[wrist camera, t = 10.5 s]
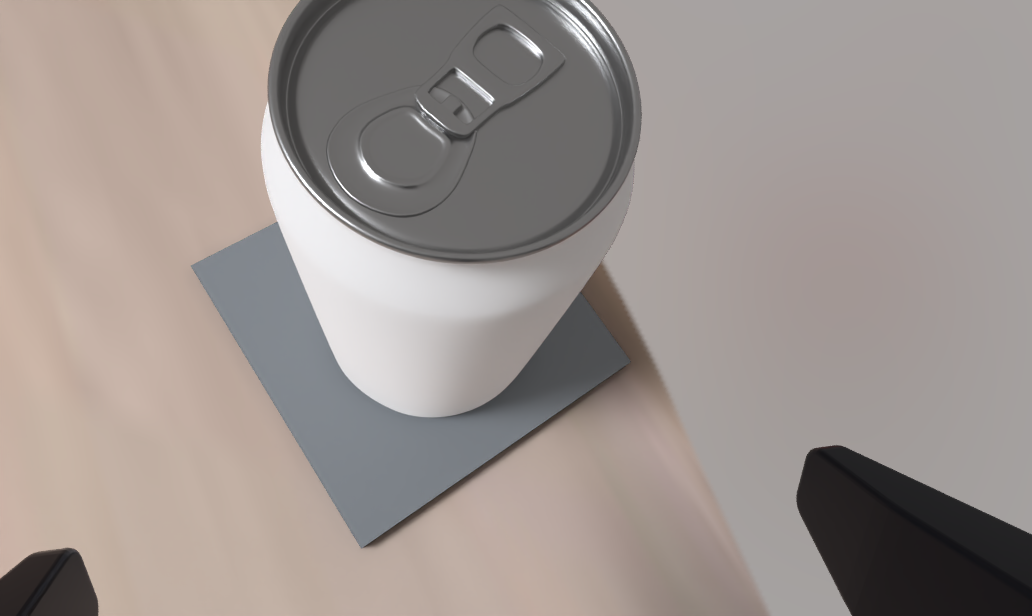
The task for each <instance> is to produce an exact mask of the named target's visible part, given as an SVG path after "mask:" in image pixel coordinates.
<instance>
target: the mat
mask: <svg viewBox="0 0 1032 616" xmlns="http://www.w3.org/2000/svg"><path fill="white" fill-rule="evenodd" d="M191 267H192V269H193V270H194V272H195V274H196V275H197V277H198V279H199V280H200V282H201V284H202V285H203V287H204V289H205V290H206V292H207V293H208V295H209V297H210V298H211V300H212V302H213V303H214V305H215V307H216V308H217V310H218V312H219V313H220V315H221V317H222V318H223V320H224V322H225V323H226V325H227V327H228V328H229V330H230V332H231V333H232V335H233V337H234V338H235V340H236V342H237V343H238V345H239V347H240V348H241V350H242V352H243V353H244V355H245V357H246V358H247V360H248V362H249V363H250V365H251V366H252V368H253V370H254V371H255V373H256V375H257V376H258V378H259V380H260V381H261V383H262V385H263V386H264V388H265V390H266V391H267V393H268V395H269V396H270V398H271V400H272V401H273V403H274V405H275V406H276V408H277V410H278V411H279V413H280V415H281V416H282V418H283V420H284V421H285V423H286V425H287V426H288V428H289V430H290V431H291V433H292V434H293V436H294V438H295V439H296V441H297V443H298V444H299V446H300V448H301V449H302V451H303V453H304V454H305V456H306V458H307V459H308V461H309V463H310V464H311V466H312V468H313V469H314V471H315V473H316V474H317V476H318V478H319V479H320V481H321V483H322V484H323V486H324V488H325V489H326V491H327V493H328V494H329V496H330V498H331V499H332V501H333V503H334V504H335V506H336V507H337V509H338V511H339V512H340V514H341V516H342V517H343V519H344V521H345V522H346V524H347V526H348V527H349V529H350V531H351V532H352V534H353V536H354V537H355V539H356V541H357V542H358V544H359V546H360V547H361V548H363V547H364V546H366V545H367V544H369V543H370V542H371V541H373V540H374V539H376V538H377V537H379V536H380V535H382V534H383V533H384V532H386V531H387V530H389V529H390V528H392V527H393V526H395V525H396V524H398V523H399V522H400V521H402V520H403V519H405V518H406V517H408V516H409V515H411V514H412V513H413V512H415V511H416V510H418V509H419V508H421V507H422V506H424V505H425V504H426V503H428V502H429V501H431V500H432V499H434V498H435V497H437V496H438V495H439V494H441V493H442V492H444V491H445V490H447V489H448V488H450V487H451V486H452V485H454V484H455V483H457V482H458V481H460V480H461V479H463V478H464V477H465V476H467V475H468V474H470V473H471V472H473V471H474V470H476V469H477V468H478V467H480V466H481V465H483V464H484V463H486V462H487V461H489V460H490V459H491V458H493V457H494V456H496V455H497V454H499V453H500V452H502V451H503V450H504V449H506V448H507V447H509V446H510V445H512V444H513V443H515V442H516V441H517V440H519V439H520V438H522V437H523V436H525V435H526V434H528V433H529V432H530V431H532V430H533V429H535V428H536V427H538V426H539V425H541V424H542V423H543V422H545V421H546V420H548V419H549V418H551V417H552V416H554V415H555V414H556V413H558V412H559V411H561V410H562V409H564V408H565V407H567V406H568V405H569V404H571V403H572V402H574V401H575V400H577V399H578V398H580V397H581V396H582V395H584V394H585V393H587V392H588V391H590V390H591V389H593V388H594V387H595V386H597V385H598V384H600V383H601V382H603V381H604V380H606V379H607V378H608V377H610V376H611V375H613V374H614V373H616V372H617V371H619V370H620V369H621V368H623V367H624V366H626V365H627V364H629V363H630V362H631V361H630V360H629V358H628V357H627V356H626V354H625V353H624V351H623V350H622V349H621V347H620V346H619V344H618V343H617V342H616V340H615V339H614V338H613V336H612V335H611V333H610V332H609V331H608V329H607V328H606V326H605V325H604V324H603V322H602V321H601V319H600V318H599V317H598V315H597V314H596V313H595V311H594V310H593V308H592V307H591V306H590V304H589V303H588V301H587V300H586V299H585V297H584V296H583V294H582V293H581V292H579V294H578V295H577V297H576V298H575V299H574V301H573V302H572V303H571V305H570V306H569V308H568V309H567V310H566V312H565V313H564V314H563V316H562V317H561V318H560V320H559V321H558V322H557V324H556V325H555V326H554V328H553V329H552V331H551V332H550V333H549V335H548V336H547V337H546V339H545V340H544V341H543V343H542V344H541V345H540V347H539V348H538V349H537V351H536V352H535V353H534V355H533V356H532V357H531V359H530V360H529V361H528V362H527V364H526V365H525V366H524V368H523V369H522V370H521V371H520V373H519V374H518V375H517V376H516V378H515V379H514V380H513V381H512V382H511V383H510V384H509V385H508V386H507V387H506V388H505V389H504V390H503V391H502V392H501V393H500V394H498V395H497V396H496V397H494V398H493V399H491V400H490V401H488V402H487V403H485V404H483V405H481V406H479V407H477V408H475V409H473V410H470V411H467V412H464V413H461V414H457V415H452V416H446V417H418V416H412V415H407V414H403V413H400V412H397V411H395V410H392V409H390V408H388V407H386V406H384V405H382V404H380V403H378V402H377V401H375V400H373V399H372V398H370V397H369V396H367V395H366V394H365V393H363V392H362V391H361V390H360V389H359V388H357V387H356V386H355V385H354V384H353V383H352V382H351V381H350V380H349V379H348V377H347V376H346V375H345V374H344V372H343V371H342V369H341V368H340V366H339V364H338V362H337V361H336V358H335V356H334V354H333V352H332V350H331V348H330V345H329V343H328V341H327V339H326V336H325V334H324V332H323V329H322V327H321V325H320V322H319V320H318V318H317V316H316V313H315V311H314V309H313V306H312V304H311V301H310V299H309V297H308V294H307V292H306V290H305V287H304V285H303V283H302V280H301V278H300V275H299V273H298V271H297V268H296V266H295V263H294V261H293V259H292V256H291V254H290V251H289V249H288V246H287V244H286V242H285V239H284V237H283V234H282V232H281V229H280V227H279V224H278V222H276V223H274V224H272V225H270V226H268V227H266V228H264V229H262V230H260V231H258V232H256V233H254V234H252V235H250V236H248V237H246V238H245V239H243V240H241V241H239V242H237V243H235V244H233V245H231V246H229V247H227V248H225V249H223V250H221V251H219V252H217V253H215V254H213V255H211V256H209V257H207V258H205V259H203V260H201V261H199V262H197V263H195V264H193V265H191Z"/></svg>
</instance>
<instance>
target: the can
mask: <svg viewBox="0 0 1032 616" xmlns="http://www.w3.org/2000/svg"><path fill="white" fill-rule="evenodd" d="M641 116H642V112H641V99H640V91H639V86H638V82H637V78H636V74H635V71H634V68H633V65H632V62H631V60H630V57H629V55H628V53H627V51H626V49H625V47H624V45H623V43H622V41H621V40H620V38H619V36H618V35H617V33H616V32H615V30H614V28H613V27H612V26H611V24H610V23H609V22H608V20H607V19H606V18H605V17H604V15H603V14H602V13H601V12H600V11H599V10H598V8H597V7H596V6H595V5H594V4H593V3H592V2H591V1H590V0H300V1H299V3H298V4H297V5H296V7H295V8H294V9H293V11H292V12H291V14H290V15H289V17H288V18H287V20H286V22H285V23H284V25H283V27H282V29H281V31H280V34H279V36H278V38H277V41H276V43H275V46H274V50H273V53H272V57H271V61H270V67H269V74H268V103H267V106H266V110H265V114H264V119H263V125H262V134H261V157H262V166H263V172H264V178H265V183H266V187H267V192H268V195H269V198H270V201H271V204H272V207H273V210H274V213H275V216H276V219H277V221H278V224H279V227H280V229H281V232H282V234H283V237H284V239H285V242H286V244H287V246H288V249H289V251H290V254H291V256H292V259H293V261H294V263H295V266H296V268H297V271H298V273H299V275H300V278H301V280H302V283H303V285H304V287H305V290H306V292H307V294H308V297H309V299H310V301H311V304H312V306H313V309H314V311H315V313H316V316H317V318H318V320H319V322H320V325H321V327H322V329H323V332H324V334H325V336H326V339H327V341H328V343H329V345H330V348H331V350H332V352H333V354H334V356H335V358H336V361H337V362H338V364H339V366H340V368H341V369H342V371H343V372H344V374H345V375H346V376H347V377H348V379H349V380H350V381H351V382H352V383H353V384H354V385H355V386H356V387H357V388H359V389H360V390H361V391H362V392H363V393H365V394H366V395H367V396H369V397H370V398H372V399H373V400H375V401H377V402H378V403H380V404H382V405H384V406H386V407H388V408H390V409H392V410H395V411H397V412H400V413H403V414H407V415H412V416H418V417H446V416H452V415H457V414H461V413H464V412H467V411H470V410H473V409H475V408H477V407H479V406H481V405H483V404H485V403H487V402H488V401H490V400H491V399H493V398H494V397H496V396H497V395H498V394H500V393H501V392H502V391H503V390H504V389H505V388H506V387H507V386H508V385H509V384H510V383H511V382H512V381H513V380H514V379H515V378H516V376H517V375H518V374H519V373H520V371H521V370H522V369H523V368H524V366H525V365H526V364H527V362H528V361H529V360H530V359H531V357H532V356H533V355H534V353H535V352H536V351H537V349H538V348H539V347H540V345H541V344H542V343H543V341H544V340H545V339H546V337H547V336H548V335H549V333H550V332H551V331H552V329H553V328H554V326H555V325H556V324H557V322H558V321H559V320H560V318H561V317H562V316H563V314H564V313H565V312H566V310H567V309H568V308H569V306H570V305H571V303H572V302H573V301H574V299H575V298H576V297H577V295H578V294H579V292H580V291H581V290H582V288H583V287H584V286H585V284H586V283H587V281H588V280H589V279H590V277H591V276H592V274H593V273H594V272H595V270H596V269H597V267H598V266H599V264H600V263H601V261H602V260H603V258H604V257H605V255H606V254H607V252H608V250H609V249H610V247H611V245H612V244H613V242H614V240H615V238H616V236H617V234H618V232H619V230H620V227H621V225H622V223H623V221H624V218H625V215H626V213H627V209H628V206H629V203H630V199H631V195H632V189H633V182H634V158H635V155H636V152H637V148H638V143H639V139H640V131H641V118H642V117H641Z"/></svg>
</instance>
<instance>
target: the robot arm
mask: <svg viewBox="0 0 1032 616" xmlns="http://www.w3.org/2000/svg"><path fill="white" fill-rule="evenodd" d="M797 507H798V510H799V513H800V515H801V517H802V519H803V521H804V523H805V525H806V527H807V529H808V531H809V533H810V535H811V537H812V539H813V541H814V543H815V545H816V547H817V549H818V551H819V553H820V554H821V556H822V559H823V561H824V562H825V564H826V566H827V568H828V570H829V572H830V574H831V576H832V578H833V580H834V582H835V584H836V586H837V588H838V590H839V592H840V594H841V596H842V598H843V600H844V602H845V604H846V605H847V607H848V609H849V611H850V613H851V615H852V616H1032V534H1029V533H1027V532H1025V531H1023V530H1021V529H1019V528H1017V527H1014V526H1012V525H1010V524H1008V523H1006V522H1004V521H1002V520H1000V519H997V518H995V517H993V516H991V515H989V514H987V513H985V512H982V511H980V510H978V509H976V508H974V507H972V506H970V505H968V504H965V503H963V502H961V501H959V500H957V499H955V498H952V497H950V496H948V495H946V494H944V493H942V492H940V491H937V490H936V489H933V488H931V487H929V486H927V485H925V484H923V483H920V482H918V481H916V480H914V479H912V478H910V477H908V476H906V475H904V474H901V473H899V472H897V471H895V470H893V469H891V468H889V467H886V466H884V465H882V464H880V463H878V462H876V461H874V460H872V459H869V458H867V457H865V456H863V455H861V454H859V453H856V452H854V451H852V450H850V449H848V448H846V447H843V446H838V445H836V446H835V445H834V446H827V447H819V448H814V449H812V450H811V451H810V452H809V453H808V454H807V456H806V459H805V464H804V467H803V471H802V475H801V479H800V483H799V487H798V490H797ZM0 616H98V600H97V596H96V593H95V591H94V588H93V586H92V583H91V580H90V578H89V575H88V573H87V570H86V567H85V565H84V562H83V560H82V557H81V555H80V554H79V552H78V551H77V550H75V549H72V548H63V549H56V550H48V551H41V552H36V553H33V554H31V555H29V556H28V557H26V558H25V559H24V560H22V561H21V562H20V563H19V564H18V565H16V566H15V567H14V568H13V569H12V570H10V571H9V572H8V573H7V574H5V575H4V576H3V577H2V578H1V579H0Z"/></svg>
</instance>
